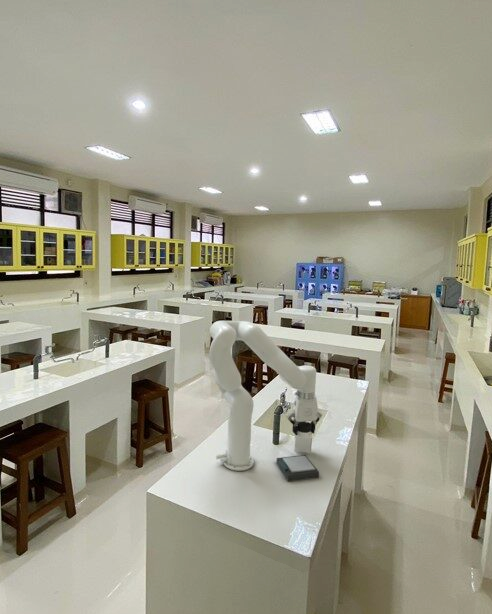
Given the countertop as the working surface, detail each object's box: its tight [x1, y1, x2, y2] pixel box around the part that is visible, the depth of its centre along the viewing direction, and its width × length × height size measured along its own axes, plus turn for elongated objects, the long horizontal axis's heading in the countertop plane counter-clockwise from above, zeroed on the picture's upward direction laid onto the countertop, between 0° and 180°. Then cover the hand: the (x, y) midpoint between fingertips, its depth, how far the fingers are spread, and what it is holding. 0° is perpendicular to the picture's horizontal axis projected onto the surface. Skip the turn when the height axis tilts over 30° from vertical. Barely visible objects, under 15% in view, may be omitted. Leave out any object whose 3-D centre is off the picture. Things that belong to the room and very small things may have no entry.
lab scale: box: [275, 454, 320, 482], centre depth 153 cm, size 13×13×3 cm
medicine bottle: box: [293, 421, 313, 454], centre depth 165 cm, size 7×7×12 cm
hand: (303, 432), depth 165 cm, fingers closed on medicine bottle, 7 cm apart
